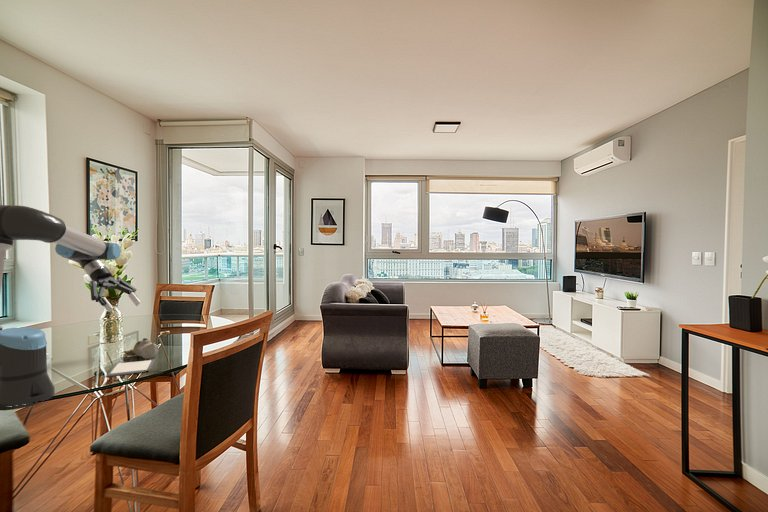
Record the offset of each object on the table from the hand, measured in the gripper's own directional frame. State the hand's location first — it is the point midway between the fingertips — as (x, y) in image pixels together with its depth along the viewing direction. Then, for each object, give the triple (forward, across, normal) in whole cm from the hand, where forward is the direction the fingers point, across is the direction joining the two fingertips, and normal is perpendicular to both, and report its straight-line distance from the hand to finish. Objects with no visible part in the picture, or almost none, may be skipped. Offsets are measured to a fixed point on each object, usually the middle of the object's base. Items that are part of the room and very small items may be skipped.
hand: (125, 307), depth 167 cm
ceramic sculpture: (+23, +1, -8) cm, 24 cm away
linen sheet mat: (+28, +14, -2) cm, 31 cm away
